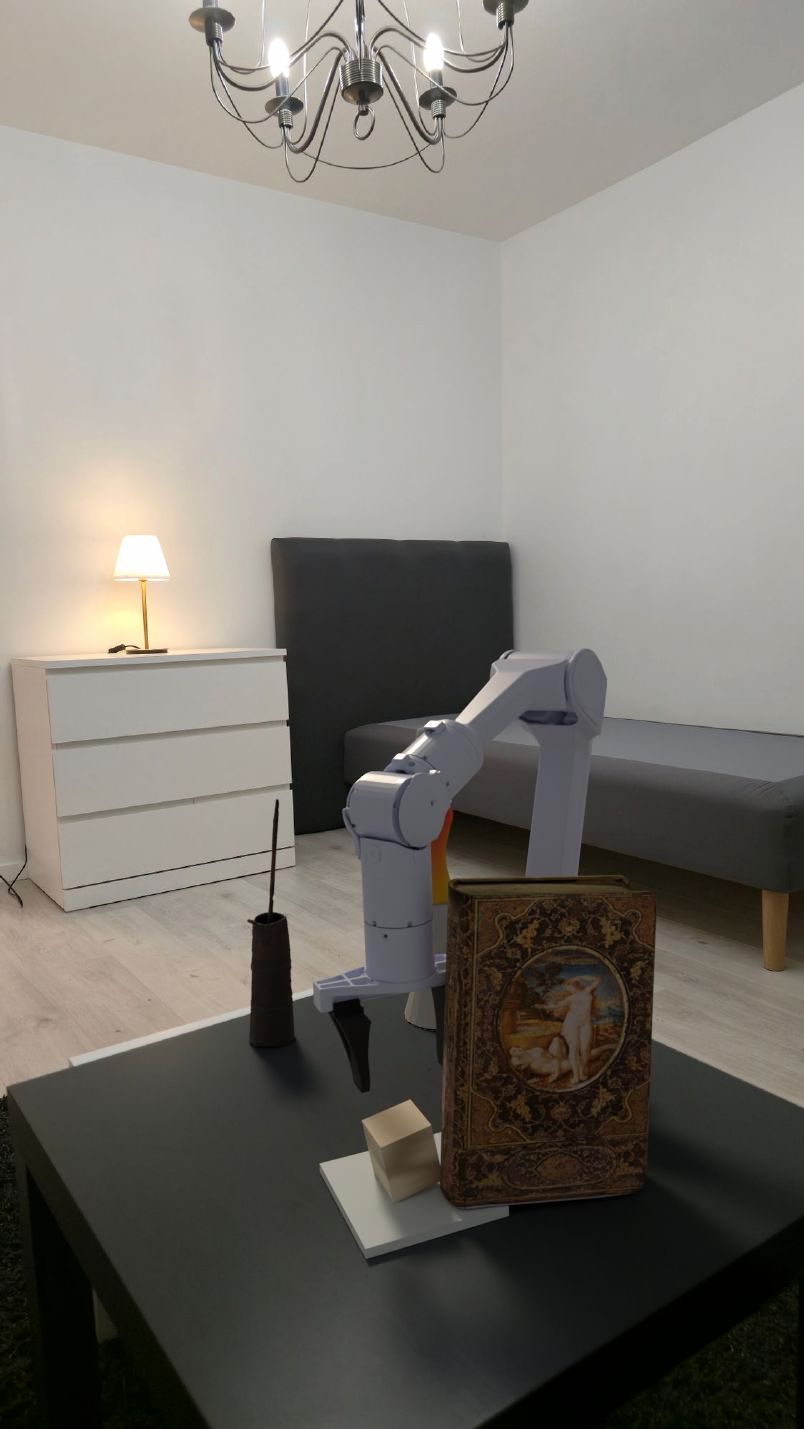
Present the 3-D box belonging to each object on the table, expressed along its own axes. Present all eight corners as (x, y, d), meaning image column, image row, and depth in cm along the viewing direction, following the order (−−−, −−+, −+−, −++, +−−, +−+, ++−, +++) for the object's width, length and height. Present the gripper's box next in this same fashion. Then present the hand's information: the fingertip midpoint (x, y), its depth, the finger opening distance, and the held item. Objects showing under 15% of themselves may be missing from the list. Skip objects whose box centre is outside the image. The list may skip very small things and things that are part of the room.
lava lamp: (492, 1012, 110) (483, 725, 107) (443, 1038, 104) (432, 733, 100) (436, 993, 116) (427, 722, 113) (386, 1017, 110) (375, 729, 107)
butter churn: (239, 1069, 98) (225, 813, 95) (214, 1036, 106) (201, 800, 104) (318, 1049, 102) (306, 803, 99) (288, 1018, 110) (277, 791, 108)
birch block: (421, 1151, 78) (410, 1099, 77) (443, 1179, 74) (431, 1125, 73) (374, 1173, 77) (361, 1120, 76) (393, 1203, 73) (380, 1147, 72)
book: (448, 1210, 71) (457, 895, 69) (434, 1171, 76) (442, 878, 75) (645, 1194, 74) (658, 891, 72) (618, 1157, 79) (629, 874, 77)
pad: (446, 1139, 83) (445, 1131, 83) (509, 1215, 72) (508, 1206, 72) (319, 1172, 78) (319, 1163, 78) (365, 1259, 67) (365, 1249, 67)
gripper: (457, 892, 81) (462, 1039, 82) (299, 917, 75) (307, 1074, 77) (494, 914, 74) (499, 1073, 75) (324, 943, 69) (333, 1114, 70)
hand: (404, 1076), depth 76 cm, fingers open, 7 cm apart
